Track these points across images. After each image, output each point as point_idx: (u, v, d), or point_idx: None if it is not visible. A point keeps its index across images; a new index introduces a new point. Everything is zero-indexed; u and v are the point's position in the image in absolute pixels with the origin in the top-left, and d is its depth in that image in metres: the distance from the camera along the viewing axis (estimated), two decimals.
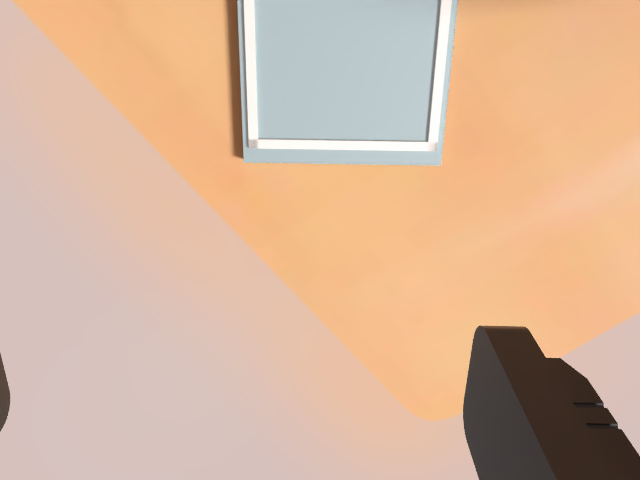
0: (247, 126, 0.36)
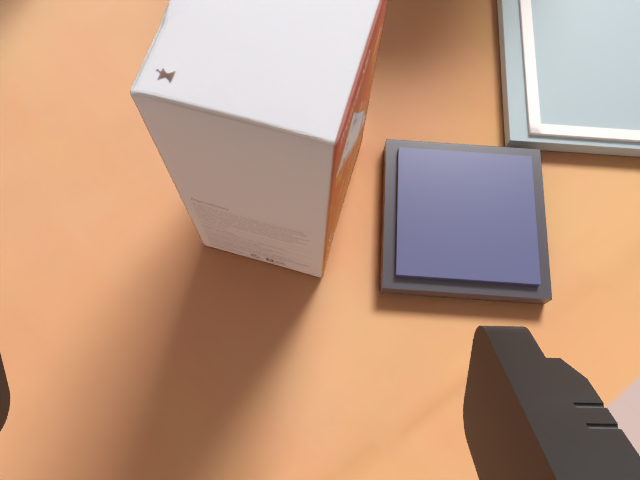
0: None
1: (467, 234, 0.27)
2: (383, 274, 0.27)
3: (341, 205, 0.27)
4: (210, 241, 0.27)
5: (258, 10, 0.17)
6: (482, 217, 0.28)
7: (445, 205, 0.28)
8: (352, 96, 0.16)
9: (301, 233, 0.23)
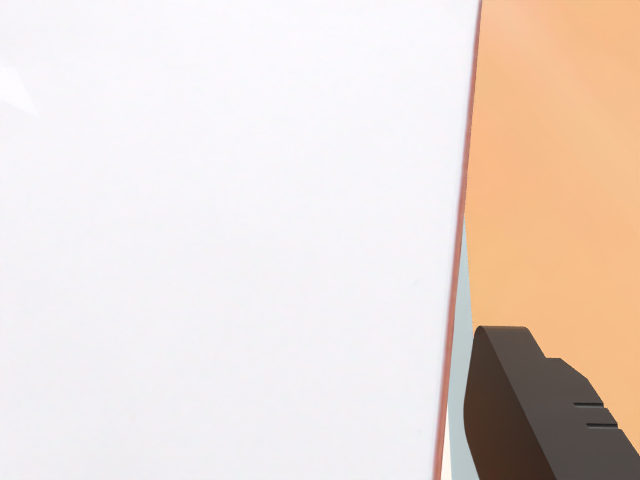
0: None
1: None
2: None
3: None
4: None
5: (112, 242, 0.06)
6: None
7: None
8: None
9: None
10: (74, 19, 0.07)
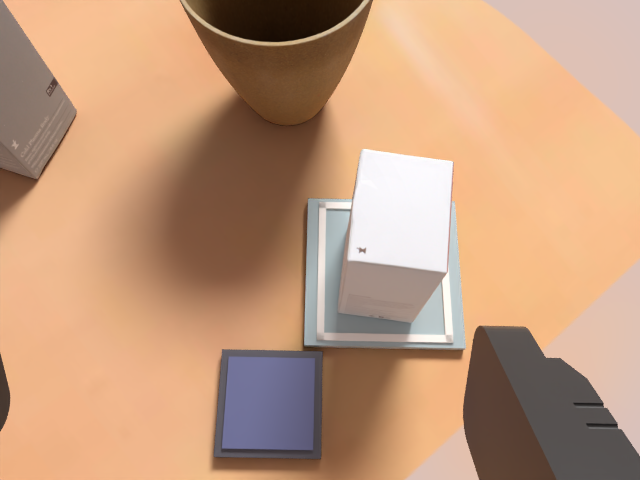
0: (435, 343, 0.46)
1: (269, 417, 0.43)
2: (215, 447, 0.43)
3: None
4: (344, 311, 0.45)
5: (396, 210, 0.36)
6: (279, 404, 0.43)
7: (256, 397, 0.44)
8: None
9: (410, 304, 0.41)
10: (379, 170, 0.37)
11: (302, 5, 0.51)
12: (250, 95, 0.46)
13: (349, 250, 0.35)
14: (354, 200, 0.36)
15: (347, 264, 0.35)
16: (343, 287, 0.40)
